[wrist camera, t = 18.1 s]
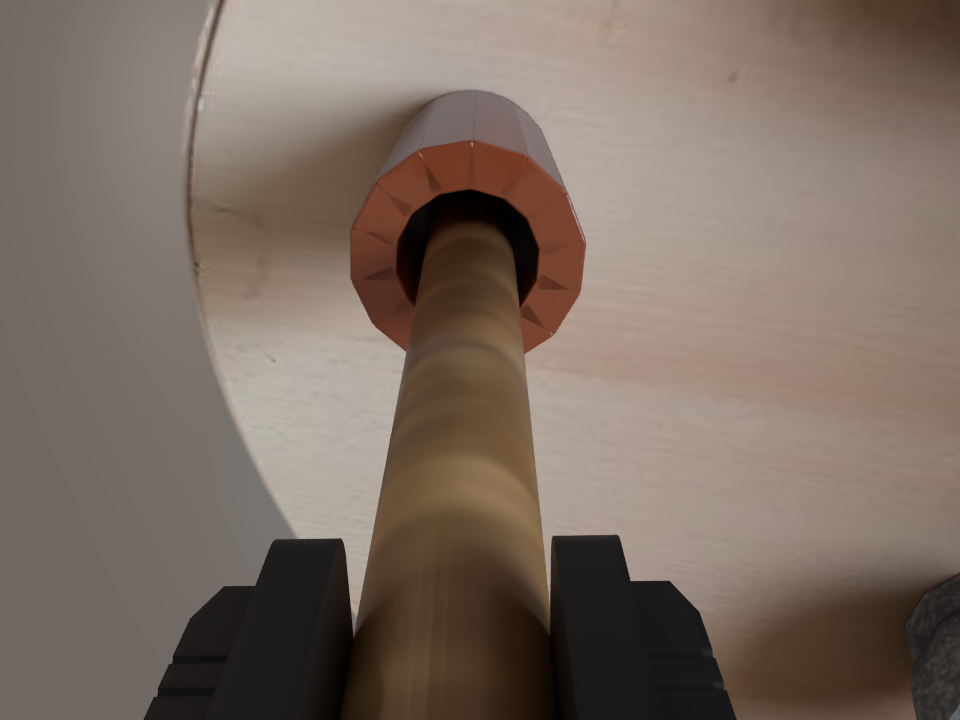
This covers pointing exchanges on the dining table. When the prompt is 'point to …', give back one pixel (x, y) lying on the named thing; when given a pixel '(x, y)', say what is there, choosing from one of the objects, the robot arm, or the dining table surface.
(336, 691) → the robot arm
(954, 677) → the mortar and pestle
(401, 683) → the stick
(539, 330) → the crock
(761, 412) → the dining table surface
